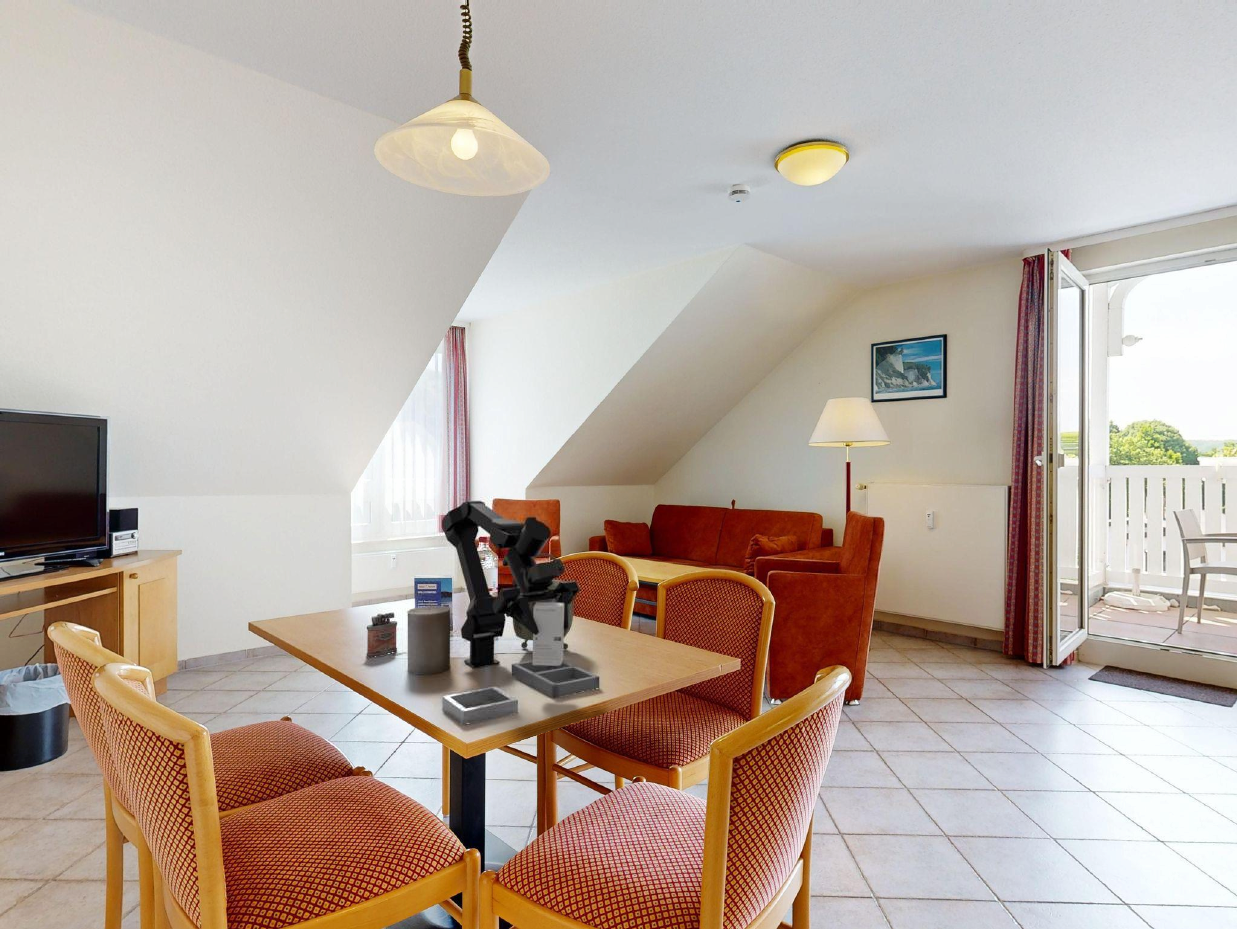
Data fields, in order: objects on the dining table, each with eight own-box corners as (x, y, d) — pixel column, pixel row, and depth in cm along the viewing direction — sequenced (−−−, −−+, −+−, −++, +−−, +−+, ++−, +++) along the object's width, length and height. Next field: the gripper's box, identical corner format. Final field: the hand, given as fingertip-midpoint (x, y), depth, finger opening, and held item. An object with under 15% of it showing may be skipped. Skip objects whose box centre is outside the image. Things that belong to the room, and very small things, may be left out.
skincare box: (532, 666, 138) (531, 606, 138) (535, 659, 143) (535, 601, 143) (562, 666, 138) (561, 606, 138) (564, 659, 143) (564, 601, 142)
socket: (442, 709, 131) (442, 696, 131) (494, 698, 137) (495, 686, 137) (463, 725, 123) (463, 711, 123) (517, 713, 129) (518, 699, 129)
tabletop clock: (573, 648, 177) (574, 552, 177) (567, 657, 168) (568, 556, 168) (518, 646, 179) (519, 551, 179) (509, 655, 170) (510, 555, 170)
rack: (511, 675, 153) (511, 664, 153) (553, 667, 160) (553, 656, 160) (554, 698, 138) (554, 685, 138) (599, 688, 144) (599, 676, 144)
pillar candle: (458, 664, 161) (458, 601, 162) (436, 676, 152) (436, 608, 152) (421, 662, 164) (421, 599, 164) (398, 673, 155) (398, 606, 155)
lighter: (371, 658, 166) (371, 617, 166) (363, 656, 168) (364, 615, 169) (399, 651, 173) (400, 612, 173) (391, 649, 175) (392, 610, 175)
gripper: (500, 549, 138) (528, 614, 129) (575, 543, 149) (605, 602, 141) (481, 582, 144) (506, 646, 135) (555, 574, 155) (582, 633, 147)
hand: (552, 631), depth 139 cm, fingers closed on skincare box, 7 cm apart
